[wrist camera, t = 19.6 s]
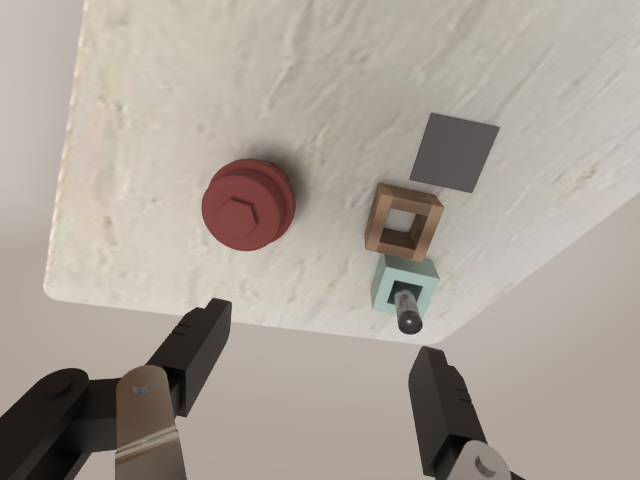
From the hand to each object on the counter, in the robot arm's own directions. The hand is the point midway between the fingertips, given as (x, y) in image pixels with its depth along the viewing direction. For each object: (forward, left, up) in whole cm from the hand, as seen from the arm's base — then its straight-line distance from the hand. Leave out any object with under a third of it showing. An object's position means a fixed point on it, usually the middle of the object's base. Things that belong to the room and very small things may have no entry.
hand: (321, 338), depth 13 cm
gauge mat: (-5, +12, -30) cm, 33 cm away
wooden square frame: (+4, +8, -30) cm, 31 cm away
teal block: (+13, +11, -30) cm, 35 cm away
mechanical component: (+4, -10, -30) cm, 32 cm away
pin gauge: (+13, +11, -30) cm, 35 cm away
